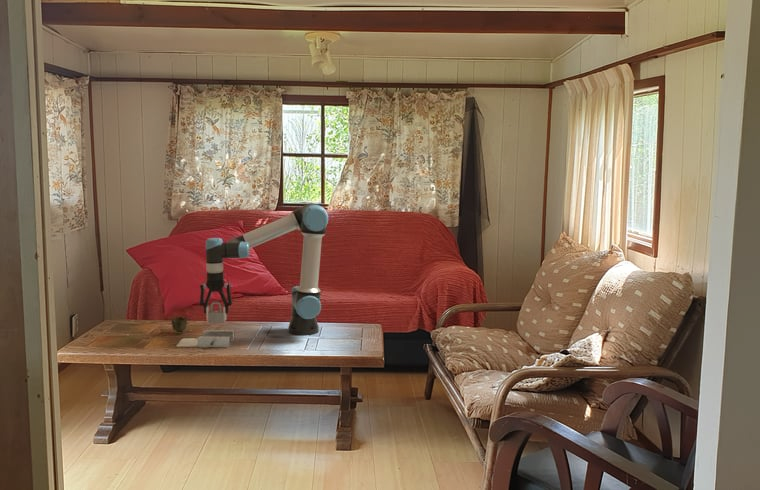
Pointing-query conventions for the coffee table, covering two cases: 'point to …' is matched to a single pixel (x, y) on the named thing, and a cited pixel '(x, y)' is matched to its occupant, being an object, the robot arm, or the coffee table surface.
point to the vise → (216, 338)
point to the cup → (179, 324)
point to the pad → (188, 342)
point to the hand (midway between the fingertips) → (216, 320)
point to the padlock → (216, 314)
